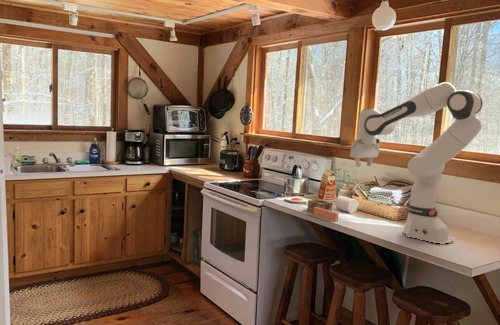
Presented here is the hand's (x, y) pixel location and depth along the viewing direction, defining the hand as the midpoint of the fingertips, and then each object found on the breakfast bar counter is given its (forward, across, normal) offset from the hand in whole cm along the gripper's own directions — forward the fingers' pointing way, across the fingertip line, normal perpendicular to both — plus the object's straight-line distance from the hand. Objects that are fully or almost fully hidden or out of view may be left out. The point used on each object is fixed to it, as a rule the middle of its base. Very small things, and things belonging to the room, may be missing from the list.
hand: (363, 166), depth 231 cm
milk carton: (+28, +24, +42) cm, 56 cm away
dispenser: (+28, -7, +21) cm, 36 cm away
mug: (+29, +12, +16) cm, 35 cm away
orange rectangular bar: (+29, -14, +11) cm, 34 cm away
